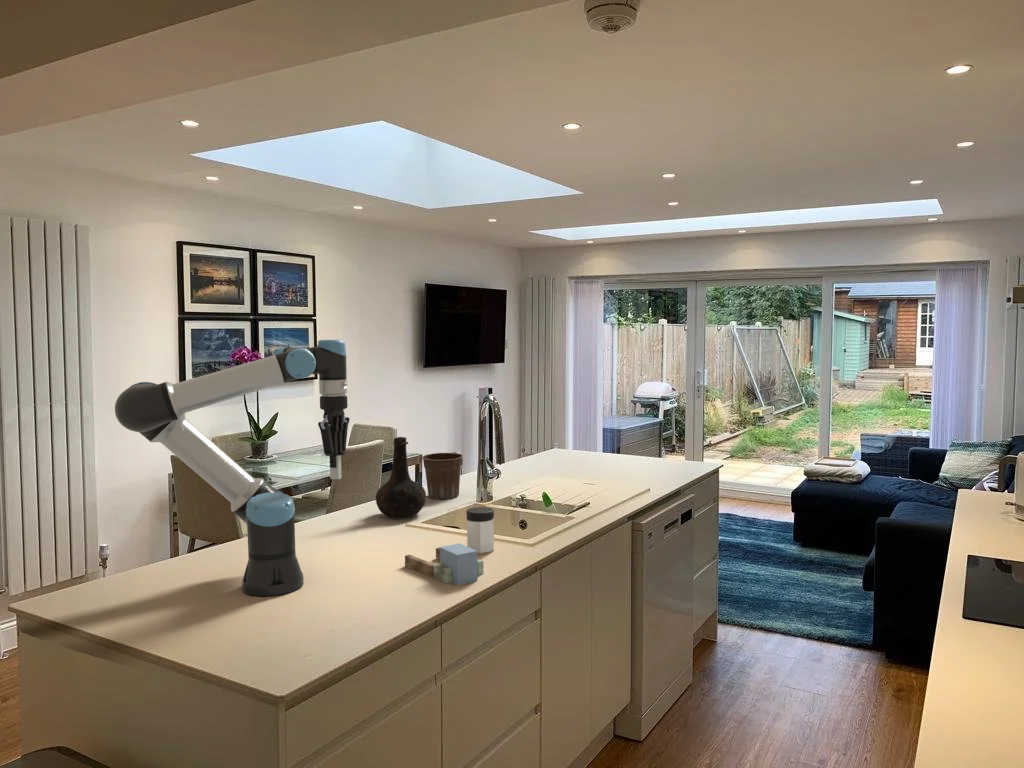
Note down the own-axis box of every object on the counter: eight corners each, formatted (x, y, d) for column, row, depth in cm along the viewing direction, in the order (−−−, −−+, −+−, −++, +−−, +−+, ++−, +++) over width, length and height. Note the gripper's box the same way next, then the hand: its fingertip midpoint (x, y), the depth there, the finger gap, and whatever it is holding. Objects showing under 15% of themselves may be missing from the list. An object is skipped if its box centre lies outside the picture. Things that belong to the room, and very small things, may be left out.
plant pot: (446, 502, 292) (446, 460, 291) (414, 498, 301) (413, 457, 300) (472, 494, 306) (471, 454, 304) (440, 490, 314) (439, 451, 313)
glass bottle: (386, 524, 260) (384, 442, 258) (369, 513, 276) (367, 436, 274) (434, 517, 269) (433, 438, 267) (415, 507, 285) (413, 432, 283)
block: (440, 576, 205) (439, 547, 204) (459, 572, 208) (459, 543, 208) (457, 585, 197) (457, 555, 197) (477, 580, 201) (477, 550, 200)
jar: (494, 553, 225) (494, 513, 224) (466, 554, 224) (466, 513, 224) (494, 545, 234) (493, 506, 233) (467, 545, 233) (466, 506, 233)
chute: (405, 566, 214) (404, 553, 213) (440, 557, 222) (440, 545, 221) (447, 583, 199) (447, 570, 198) (483, 573, 206) (483, 560, 206)
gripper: (332, 397, 206) (335, 483, 208) (357, 393, 218) (359, 474, 220) (308, 396, 208) (311, 482, 210) (334, 392, 221) (336, 473, 223)
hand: (335, 478), depth 215 cm, fingers closed
